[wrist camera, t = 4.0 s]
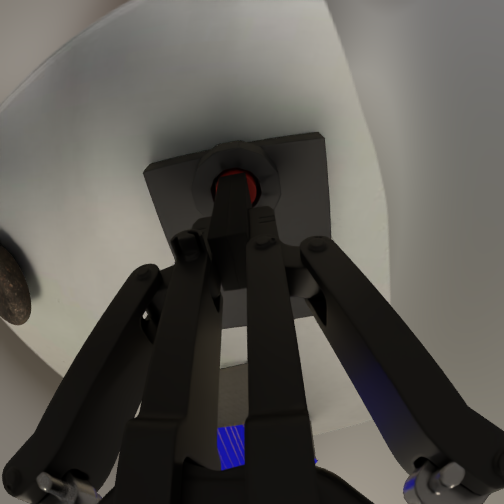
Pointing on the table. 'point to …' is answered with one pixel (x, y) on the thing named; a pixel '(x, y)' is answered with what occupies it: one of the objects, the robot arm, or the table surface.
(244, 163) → the scale
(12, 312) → the stone
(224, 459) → the house
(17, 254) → the table surface
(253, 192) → the tare button
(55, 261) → the table surface
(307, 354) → the table surface
